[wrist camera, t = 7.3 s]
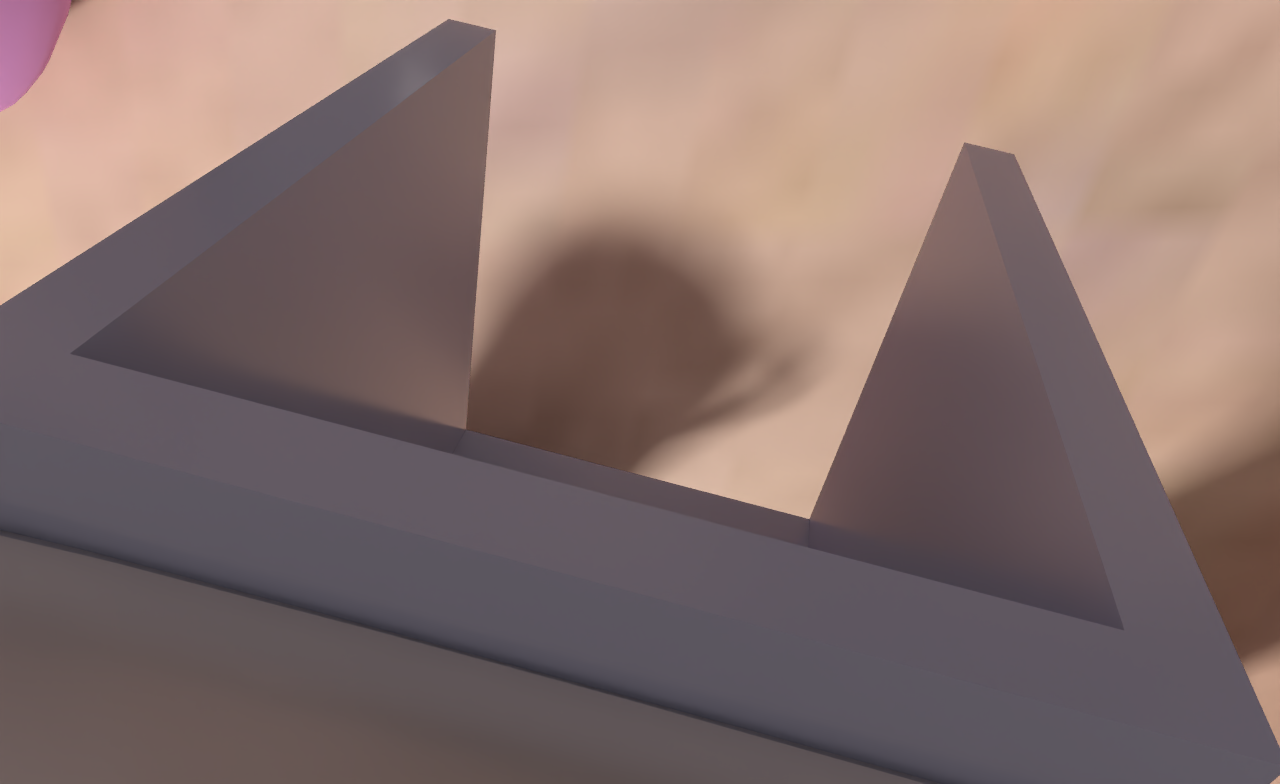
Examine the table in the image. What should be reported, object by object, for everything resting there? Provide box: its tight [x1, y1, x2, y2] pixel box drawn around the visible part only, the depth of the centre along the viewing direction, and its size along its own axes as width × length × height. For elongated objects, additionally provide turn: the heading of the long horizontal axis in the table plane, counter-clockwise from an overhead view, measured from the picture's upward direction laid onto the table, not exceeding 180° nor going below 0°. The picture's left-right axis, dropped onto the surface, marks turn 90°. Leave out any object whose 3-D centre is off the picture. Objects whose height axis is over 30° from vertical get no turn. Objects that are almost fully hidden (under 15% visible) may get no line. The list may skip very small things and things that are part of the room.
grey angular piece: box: [0, 19, 1280, 784], centre depth 9 cm, size 7×7×8 cm
